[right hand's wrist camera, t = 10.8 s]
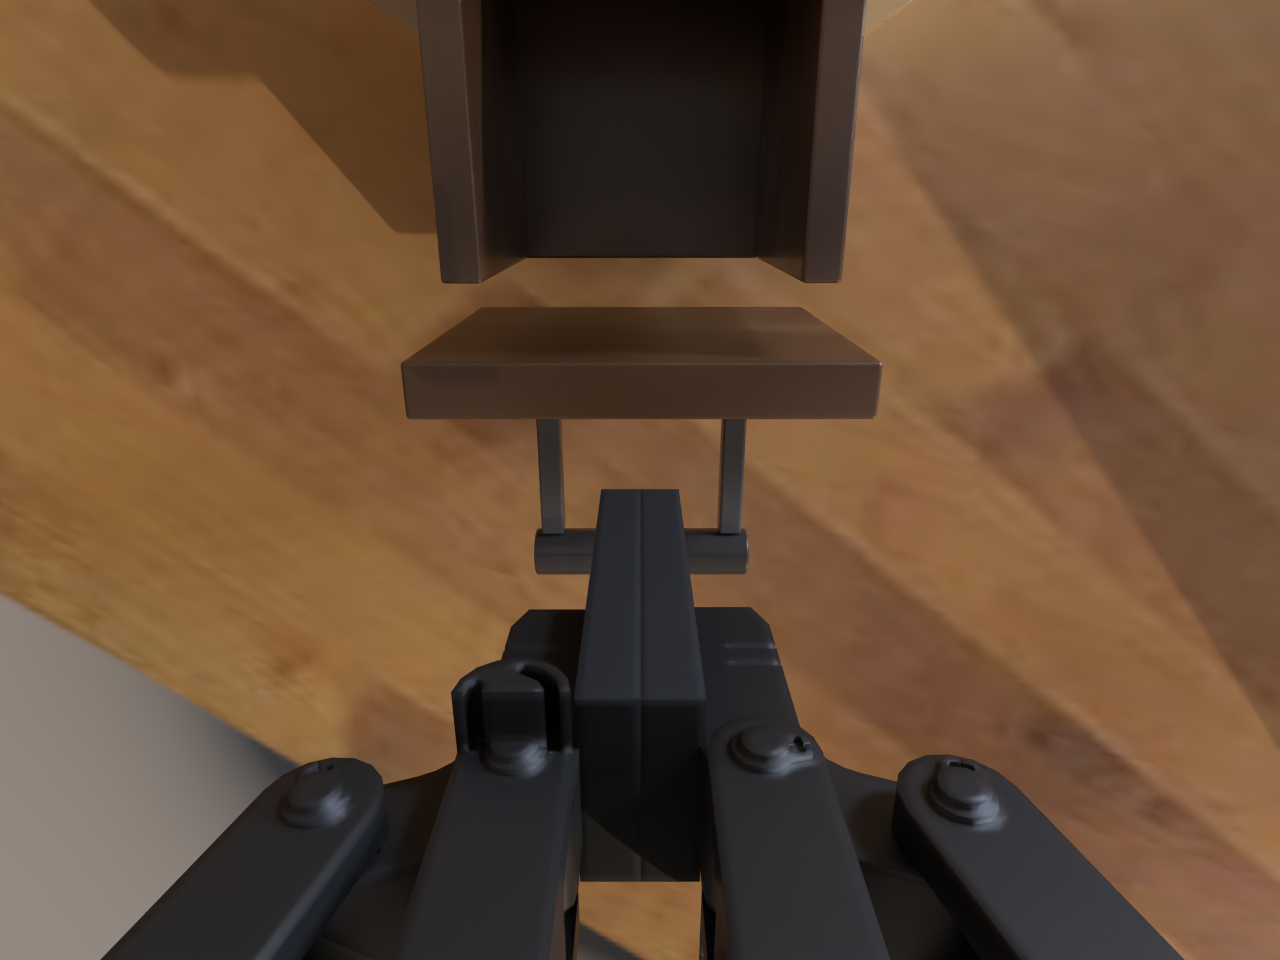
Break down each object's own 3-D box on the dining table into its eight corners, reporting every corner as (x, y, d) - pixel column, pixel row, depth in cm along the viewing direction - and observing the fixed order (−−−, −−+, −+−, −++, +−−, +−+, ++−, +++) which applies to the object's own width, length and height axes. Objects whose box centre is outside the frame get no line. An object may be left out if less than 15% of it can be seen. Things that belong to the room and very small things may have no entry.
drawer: (787, 519, 25) (850, 658, 18) (495, 519, 25) (432, 659, 18) (856, -426, 17) (1030, -926, 9) (425, -425, 17) (252, -925, 9)
